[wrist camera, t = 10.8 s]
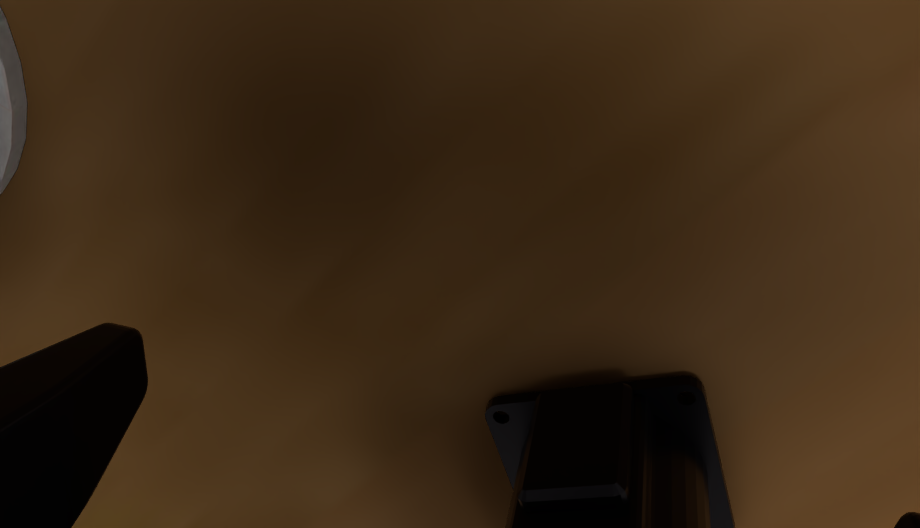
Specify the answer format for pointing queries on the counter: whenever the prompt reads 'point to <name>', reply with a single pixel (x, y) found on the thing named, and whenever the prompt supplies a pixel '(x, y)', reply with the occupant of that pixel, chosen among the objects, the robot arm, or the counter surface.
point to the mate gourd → (10, 106)
